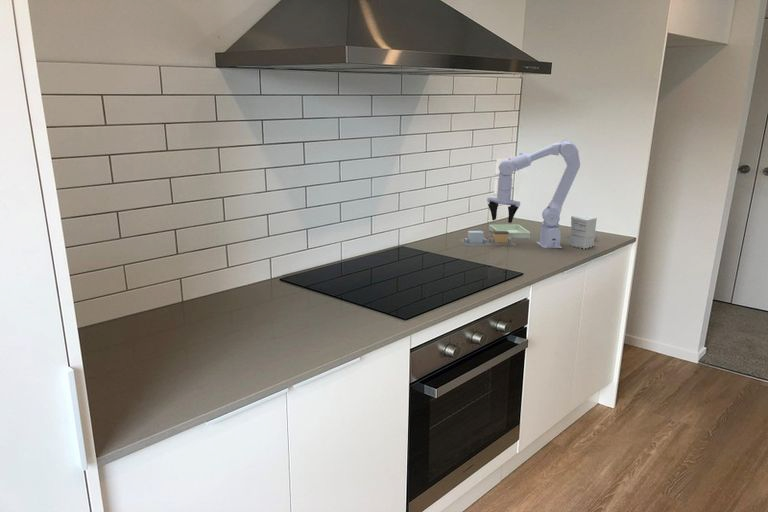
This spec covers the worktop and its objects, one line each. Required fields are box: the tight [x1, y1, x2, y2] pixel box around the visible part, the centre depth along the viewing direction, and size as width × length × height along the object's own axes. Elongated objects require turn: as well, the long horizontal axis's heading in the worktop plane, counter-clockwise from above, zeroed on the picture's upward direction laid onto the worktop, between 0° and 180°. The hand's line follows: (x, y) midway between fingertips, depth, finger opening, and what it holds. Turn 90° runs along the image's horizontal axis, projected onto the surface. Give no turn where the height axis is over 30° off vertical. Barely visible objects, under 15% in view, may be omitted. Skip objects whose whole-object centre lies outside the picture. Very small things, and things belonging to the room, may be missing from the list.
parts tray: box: [488, 224, 532, 239], centre depth 278 cm, size 16×14×3 cm
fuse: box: [467, 230, 485, 243], centre depth 262 cm, size 3×6×4 cm, turn 97°
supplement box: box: [569, 214, 598, 250], centre depth 260 cm, size 7×7×13 cm
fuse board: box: [459, 237, 517, 246], centre depth 263 cm, size 11×22×2 cm, turn 97°
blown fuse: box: [492, 231, 509, 243], centre depth 263 cm, size 3×6×4 cm, turn 97°
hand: (502, 221), depth 262 cm, fingers open, 7 cm apart
